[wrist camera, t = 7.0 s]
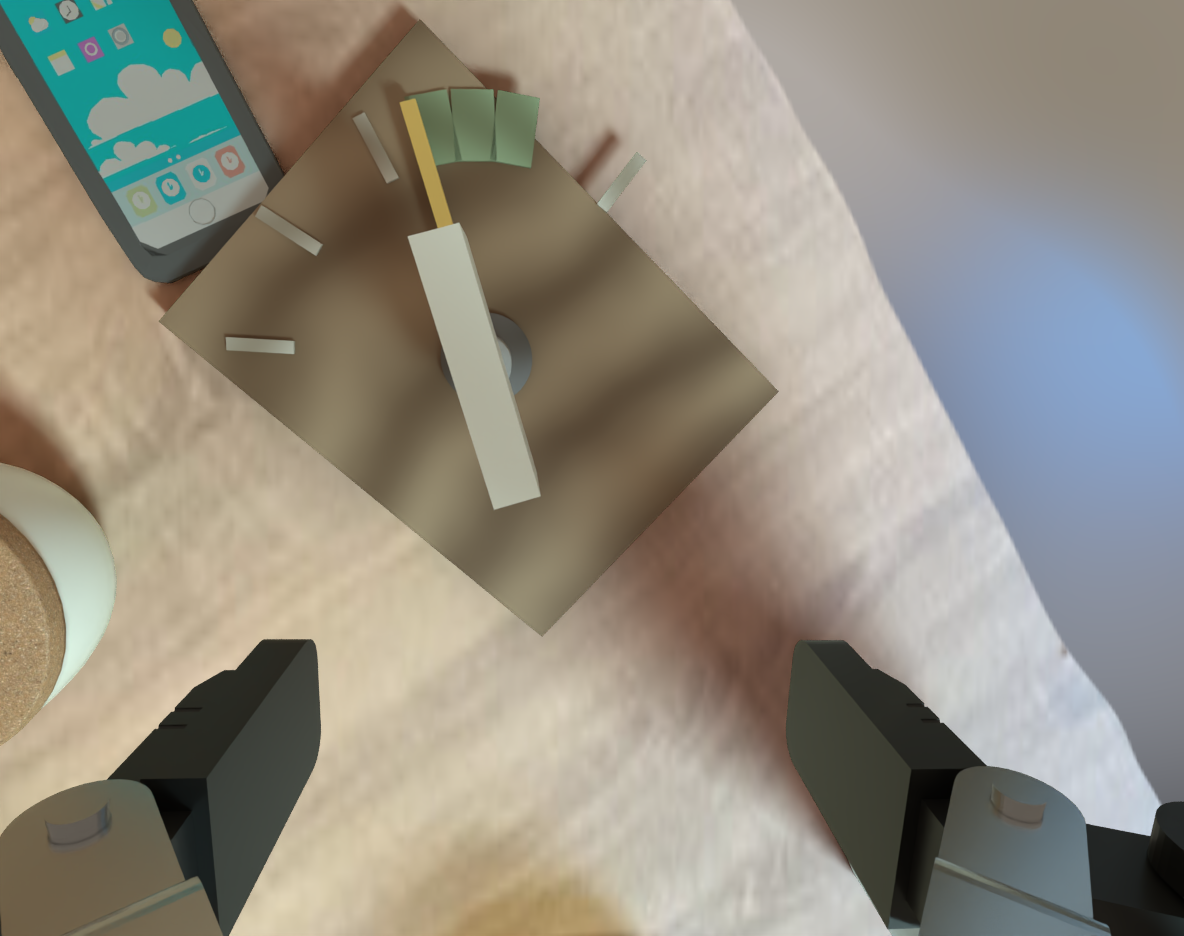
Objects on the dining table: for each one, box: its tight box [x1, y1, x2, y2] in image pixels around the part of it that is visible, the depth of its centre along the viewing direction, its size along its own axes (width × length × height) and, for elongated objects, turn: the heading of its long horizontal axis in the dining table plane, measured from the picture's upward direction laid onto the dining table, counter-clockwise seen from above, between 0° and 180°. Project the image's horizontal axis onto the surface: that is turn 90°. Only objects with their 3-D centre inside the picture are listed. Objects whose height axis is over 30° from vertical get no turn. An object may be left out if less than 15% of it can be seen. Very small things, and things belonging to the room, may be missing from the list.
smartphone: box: [0, 0, 285, 283], centre depth 31 cm, size 9×1×15 cm
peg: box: [399, 98, 541, 510], centre depth 28 cm, size 16×2×9 cm, turn 15°
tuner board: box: [159, 20, 779, 636], centre depth 34 cm, size 24×21×2 cm
